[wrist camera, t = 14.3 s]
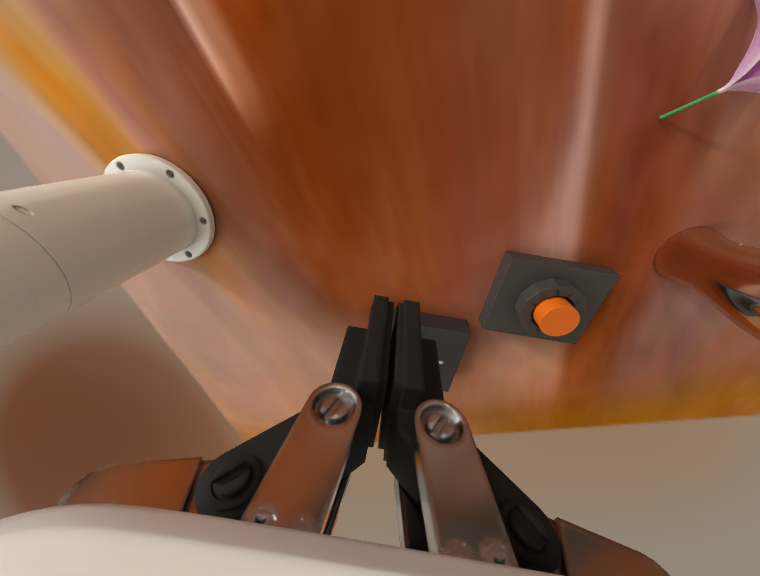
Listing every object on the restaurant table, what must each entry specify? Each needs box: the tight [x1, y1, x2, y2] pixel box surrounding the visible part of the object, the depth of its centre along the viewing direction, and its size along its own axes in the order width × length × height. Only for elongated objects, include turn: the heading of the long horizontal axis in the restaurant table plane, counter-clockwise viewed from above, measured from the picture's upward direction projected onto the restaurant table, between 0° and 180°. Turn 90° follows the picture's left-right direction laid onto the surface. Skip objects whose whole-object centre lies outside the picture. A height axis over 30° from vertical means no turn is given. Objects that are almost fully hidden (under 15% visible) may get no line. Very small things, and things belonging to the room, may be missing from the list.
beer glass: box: [654, 227, 760, 340], centre depth 24 cm, size 7×7×15 cm
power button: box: [533, 297, 580, 336], centre depth 31 cm, size 4×4×2 cm
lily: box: [660, 0, 760, 119], centre depth 21 cm, size 12×12×10 cm
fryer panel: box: [368, 305, 470, 392], centre depth 39 cm, size 13×11×3 cm
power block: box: [479, 251, 620, 344], centre depth 33 cm, size 12×10×4 cm
